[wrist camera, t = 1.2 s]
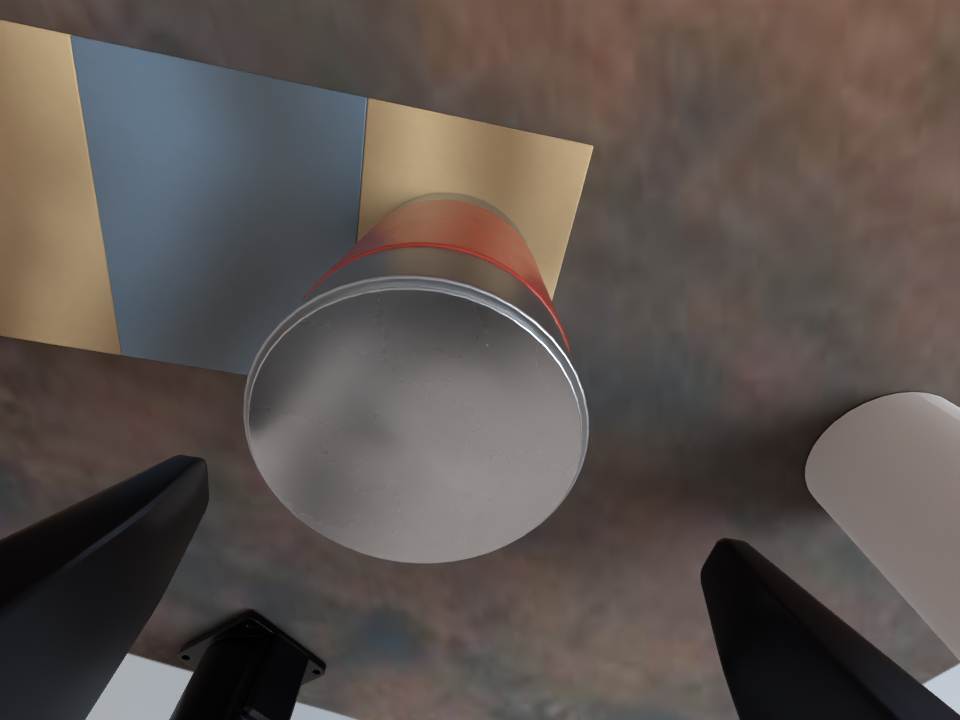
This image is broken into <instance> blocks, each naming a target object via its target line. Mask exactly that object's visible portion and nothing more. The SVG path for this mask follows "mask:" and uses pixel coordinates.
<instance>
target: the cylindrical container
mask: <svg viewBox="0 0 960 720" xmlns="http://www.w3.org/2000/svg"><path fill="white" fill-rule="evenodd" d="M805 480H806V484H807V487H808V490H809V491H810V493H811V494H812V496H813V497H814V498H815V499H816V501H817V502H818V503H819V504H820V505H821V506H822V507H823V508H824V509H825V511H826V512H827V513H828V514H829V515H830V516H831V517H832V518H833V519H834V521H835V522H836V523H837V524H838V525H839V526H840V527H841V528H842V529H843V531H844V532H845V533H846V534H847V535H848V536H849V537H850V538H851V540H852V541H853V542H854V543H855V544H856V545H857V546H858V547H859V548H860V550H861V551H862V552H863V553H864V554H865V555H866V556H867V557H868V558H869V560H870V561H871V562H872V563H873V564H874V565H875V566H876V567H877V568H878V570H879V571H880V572H881V573H882V574H883V575H884V576H885V577H886V579H887V580H888V581H889V582H890V583H891V584H892V585H893V586H894V587H895V589H896V590H897V591H898V592H899V593H900V594H901V595H902V596H903V597H904V599H905V600H906V601H907V602H908V603H909V604H910V605H911V606H912V607H913V609H914V610H915V611H916V612H917V613H918V614H919V615H920V616H921V618H922V619H923V620H924V621H925V622H926V623H927V624H928V626H929V627H930V628H931V629H932V630H933V631H934V632H935V633H936V635H937V636H938V637H939V638H940V639H941V640H942V641H943V642H944V644H945V645H946V646H947V647H948V648H949V649H950V650H951V651H952V653H953V654H954V655H955V656H956V657H957V658H958V659H959V660H960V408H959V407H958V406H956V405H954V404H953V403H951V402H949V401H947V400H946V399H944V398H942V397H940V396H936V395H933V394H929V393H921V392H906V393H896V394H892V395H887V396H883V397H880V398H877V399H874V400H872V401H869V402H866V403H864V404H862V405H860V406H858V407H857V408H855V409H853V410H851V411H849V412H847V413H846V414H845V415H843V416H842V417H841V418H839V419H838V420H837V421H835V422H834V423H833V424H832V425H831V426H830V427H829V428H828V429H827V430H826V431H825V432H824V433H823V434H822V435H821V436H820V438H819V439H818V440H817V442H816V443H815V444H814V446H813V448H812V450H811V452H810V454H809V456H808V459H807V463H806V467H805Z"/></svg>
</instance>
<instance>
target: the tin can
mask: <svg viewBox="0 0 960 720" xmlns="http://www.w3.org/2000/svg"><path fill="white" fill-rule="evenodd" d="M243 419H244V427H245V435H246V438H247V442H248V446H249V449H250V452H251V455H252V457H253V459H254V462H255V464H256V466H257V468H258V470H259V472H260V474H261V475H262V477H263V478H264V480H265V482H266V483H267V485H268V486H269V488H270V489H271V490H272V491H273V493H274V494H275V495H276V496H277V498H278V499H279V500H280V501H281V502H282V503H283V504H284V505H285V506H286V507H287V508H288V509H289V510H290V511H291V512H292V513H293V514H294V515H295V516H296V517H297V518H298V519H300V520H301V521H302V522H303V523H305V524H306V525H307V526H309V527H310V528H311V529H313V530H314V531H316V532H318V533H319V534H321V535H322V536H324V537H326V538H327V539H329V540H331V541H333V542H335V543H337V544H339V545H341V546H343V547H346V548H349V549H351V550H354V551H357V552H359V553H362V554H366V555H369V556H373V557H377V558H380V559H386V560H392V561H397V562H408V563H442V562H452V561H458V560H463V559H468V558H473V557H476V556H480V555H483V554H486V553H490V552H492V551H494V550H497V549H499V548H502V547H504V546H506V545H508V544H510V543H512V542H514V541H515V540H517V539H519V538H521V537H523V536H524V535H526V534H527V533H529V532H530V531H532V530H533V529H534V528H536V527H537V526H539V525H540V524H541V523H542V522H543V521H545V520H546V519H547V518H548V517H549V516H550V515H551V514H552V513H553V512H554V511H555V510H556V509H557V508H558V506H559V505H560V504H561V503H562V502H563V500H564V499H565V498H566V496H567V495H568V493H569V492H570V490H571V488H572V487H573V485H574V484H575V482H576V479H577V477H578V475H579V473H580V470H581V468H582V466H583V462H584V458H585V455H586V451H587V446H588V437H589V413H588V407H587V402H586V397H585V392H584V389H583V387H582V384H581V381H580V379H579V376H578V373H577V371H576V368H575V366H574V363H573V361H572V358H571V354H570V350H569V345H568V342H567V339H566V336H565V334H564V331H563V328H562V326H561V323H560V321H559V318H558V316H557V313H556V311H555V308H554V306H553V304H552V301H551V299H550V296H549V294H548V291H547V289H546V286H545V284H544V281H543V279H542V276H541V274H540V271H539V269H538V266H537V264H536V261H535V259H534V257H533V255H532V253H531V251H530V249H529V247H528V245H527V243H526V241H525V239H524V237H523V236H522V234H521V232H520V231H519V230H518V228H517V227H516V226H515V224H514V223H513V222H512V221H511V220H510V219H509V218H508V217H507V216H506V215H505V214H504V213H502V212H501V211H500V210H498V209H497V208H496V207H494V206H492V205H491V204H489V203H487V202H485V201H483V200H480V199H478V198H476V197H472V196H468V195H465V194H459V193H434V194H427V195H424V196H420V197H417V198H414V199H412V200H410V201H408V202H406V203H404V204H402V205H401V206H399V207H398V208H396V209H395V210H393V211H392V212H391V213H390V214H389V215H388V216H386V217H385V218H383V219H382V220H381V221H380V222H379V223H377V224H376V225H375V226H374V227H373V228H372V229H371V230H370V231H369V232H368V233H367V234H366V235H365V236H364V237H363V238H362V239H361V240H360V241H359V242H358V243H356V244H355V245H354V246H353V247H352V248H351V249H350V250H349V251H348V252H347V253H346V254H345V255H344V256H343V257H342V258H341V259H340V260H339V261H338V262H337V263H336V264H335V265H334V266H333V267H332V268H331V269H330V270H329V271H328V272H327V273H326V274H325V275H324V276H323V277H322V278H321V279H319V280H318V281H317V282H316V283H315V285H314V286H313V287H312V288H311V289H310V290H309V292H308V293H307V294H306V295H305V296H304V298H303V299H302V301H301V302H300V303H299V304H298V305H297V306H296V307H295V308H294V309H293V310H292V311H291V312H290V313H289V314H288V315H287V316H286V317H285V318H284V319H283V320H282V321H281V322H280V323H279V324H278V325H277V327H276V328H275V329H274V330H273V331H272V332H271V334H270V335H269V336H268V337H267V338H266V340H265V341H264V343H263V345H262V346H261V348H260V350H259V351H258V353H257V355H256V356H255V359H254V361H253V364H252V366H251V369H250V371H249V374H248V378H247V382H246V387H245V392H244V405H243Z"/></svg>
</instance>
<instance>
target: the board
mask: <svg viewBox="0 0 960 720" xmlns="http://www.w3.org/2000/svg"><path fill="white" fill-rule="evenodd" d="M592 151H593V146H592V145H588V144H583V143H579V142H574V141H569V140H565V139H560V138H555V137H550V136H546V135H541V134H536V133H532V132H527V131H522V130H517V129H513V128H508V127H503V126H499V125H494V124H489V123H484V122H480V121H475V120H470V119H466V118H461V117H456V116H451V115H447V114H442V113H437V112H433V111H428V110H423V109H418V108H414V107H409V106H404V105H400V104H395V103H390V102H385V101H381V100H376V99H371V98H367V97H362V96H357V95H353V94H348V93H343V92H338V91H334V90H329V89H324V88H320V87H315V86H310V85H305V84H301V83H296V82H291V81H287V80H282V79H277V78H272V77H268V76H263V75H258V74H254V73H249V72H244V71H239V70H235V69H230V68H225V67H221V66H216V65H211V64H206V63H202V62H197V61H192V60H188V59H183V58H178V57H173V56H169V55H164V54H159V53H155V52H150V51H145V50H140V49H136V48H131V47H126V46H122V45H117V44H112V43H107V42H103V41H98V40H93V39H89V38H84V37H79V36H75V35H70V34H65V33H60V32H56V31H51V30H46V29H42V28H37V27H32V26H27V25H23V24H18V23H13V22H9V21H4V20H0V336H4V337H11V338H17V339H23V340H29V341H36V342H42V343H48V344H54V345H61V346H67V347H73V348H79V349H85V350H92V351H98V352H104V353H110V354H117V355H123V356H130V357H136V358H142V359H148V360H155V361H161V362H167V363H173V364H180V365H186V366H192V367H198V368H204V369H211V370H217V371H223V372H229V373H236V374H242V375H248V374H249V371H250V369H251V366H252V364H253V361H254V359H255V356H256V355H257V353H258V351H259V350H260V348H261V346H262V345H263V343H264V341H265V340H266V338H267V337H268V336H269V335H270V334H271V332H272V331H273V330H274V329H275V328H276V327H277V325H278V324H279V323H280V322H281V321H282V320H283V319H284V318H285V317H286V316H287V315H288V314H289V313H290V312H291V311H292V310H293V309H294V308H295V307H296V306H297V305H298V304H299V303H300V302H301V301H302V299H303V298H304V296H305V295H306V294H307V293H308V292H309V290H310V289H311V288H312V287H313V286H314V285H315V283H316V282H317V281H318V280H319V279H321V278H322V277H323V276H324V275H325V274H326V273H327V272H328V271H329V270H330V269H331V268H332V267H333V266H334V265H335V264H336V263H337V262H338V261H339V260H340V259H341V258H342V257H343V256H344V255H345V254H346V253H347V252H348V251H349V250H350V249H351V248H352V247H353V246H354V245H355V244H356V243H358V242H359V241H360V240H361V239H362V238H363V237H364V236H365V235H366V234H367V233H368V232H369V231H370V230H371V229H372V228H373V227H374V226H375V225H376V224H377V223H379V222H380V221H381V220H382V219H383V218H385V217H386V216H388V215H389V214H390V213H391V212H392V211H393V210H395V209H396V208H398V207H399V206H401V205H402V204H404V203H406V202H408V201H410V200H412V199H414V198H417V197H420V196H424V195H427V194H434V193H459V194H465V195H468V196H472V197H476V198H478V199H480V200H483V201H485V202H487V203H489V204H491V205H492V206H494V207H496V208H497V209H498V210H500V211H501V212H502V213H504V214H505V215H506V216H507V217H508V218H509V219H510V220H511V221H512V222H513V223H514V224H515V226H516V227H517V228H518V230H519V231H520V232H521V234H522V236H523V237H524V239H525V241H526V243H527V245H528V247H529V249H530V251H531V253H532V255H533V257H534V259H535V261H536V264H537V266H538V269H539V271H540V274H541V276H542V279H543V281H544V284H545V286H546V289H547V291H548V294H549V296H550V299H551V301H552V299H553V295H554V291H555V288H556V284H557V280H558V276H559V273H560V269H561V265H562V262H563V258H564V254H565V251H566V247H567V243H568V239H569V236H570V232H571V228H572V225H573V221H574V217H575V214H576V210H577V206H578V203H579V199H580V195H581V191H582V188H583V184H584V180H585V177H586V173H587V169H588V166H589V162H590V158H591V154H592Z"/></svg>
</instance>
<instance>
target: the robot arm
mask: <svg viewBox="0 0 960 720" xmlns="http://www.w3.org/2000/svg"><path fill="white" fill-rule="evenodd" d="M208 501H209V487H208V472H207V464H206V462H205V460H204V459H202V458H198V457H191V456H185V455H177V456H174V457H172V458H170V459H168V460H166V461H164V462H161V463H159V464H157V465H155V466H153V467H151V468H149V469H147V470H145V471H143V472H141V473H139V474H137V475H135V476H132V477H130V478H128V479H126V480H124V481H122V482H120V483H118V484H116V485H114V486H112V487H110V488H108V489H105V490H103V491H101V492H99V493H97V494H95V495H93V496H91V497H89V498H87V499H85V500H83V501H81V502H78V503H76V504H74V505H72V506H70V507H68V508H66V509H64V510H62V511H60V512H58V513H56V514H54V515H52V516H49V517H47V518H45V519H43V520H41V521H39V522H37V523H35V524H33V525H31V526H29V527H27V528H25V529H22V530H20V531H18V532H16V533H14V534H12V535H10V536H8V537H6V538H4V539H2V540H0V720H85V719H86V717H87V716H88V714H89V713H90V711H91V710H92V708H93V706H94V705H95V703H96V702H97V700H98V698H99V697H100V695H101V694H102V692H103V691H104V689H105V688H106V686H107V684H108V683H109V681H110V680H111V678H112V676H113V675H114V673H115V672H116V670H117V668H118V667H119V665H120V664H121V662H122V661H123V659H124V657H125V656H126V654H127V653H128V651H129V650H130V648H131V646H132V645H133V643H134V642H135V640H136V639H137V637H138V635H139V634H140V632H141V631H142V629H143V628H144V626H145V624H146V623H147V621H148V620H149V618H150V616H151V615H152V613H153V612H154V610H155V608H156V607H157V605H158V603H159V602H160V600H161V598H162V596H163V594H164V592H165V591H166V589H167V587H168V585H169V583H170V581H171V579H172V577H173V575H174V573H175V571H176V569H177V567H178V565H179V563H180V561H181V559H182V557H183V555H184V553H185V551H186V549H187V547H188V545H189V543H190V541H191V539H192V537H193V535H194V533H195V531H196V529H197V527H198V525H199V523H200V521H201V519H202V517H203V515H204V513H205V511H206V508H207V505H208ZM701 585H702V589H703V593H704V597H705V601H706V605H707V609H708V613H709V617H710V621H711V625H712V629H713V633H714V637H715V641H716V646H717V650H718V654H719V657H720V661H721V665H722V668H723V672H724V675H725V678H726V681H727V684H728V687H729V690H730V693H731V696H732V699H733V702H734V705H735V708H736V711H737V713H738V716H739V719H740V720H960V715H959V714H958V713H956V712H955V711H954V710H953V709H951V708H950V707H949V706H948V705H946V704H945V703H944V702H943V701H941V700H940V699H939V698H938V697H937V696H935V695H934V694H933V693H932V692H930V691H929V690H928V689H927V688H925V687H924V686H923V685H922V684H921V683H919V682H918V681H917V680H916V679H914V678H913V677H912V676H911V675H909V674H908V673H907V672H906V671H905V670H903V669H902V668H901V667H900V666H898V665H897V664H896V663H895V662H893V661H892V660H891V659H890V658H889V657H887V656H886V655H885V654H884V653H882V652H881V651H880V650H879V649H877V648H876V647H875V646H874V645H872V644H871V643H870V642H869V641H868V640H866V639H865V638H864V637H863V636H861V635H860V634H859V633H858V632H856V631H855V630H854V629H853V628H851V627H850V626H849V625H848V624H847V623H845V622H844V621H843V620H842V619H840V618H839V617H838V616H837V615H835V614H834V613H833V612H832V611H831V610H829V609H828V608H827V607H826V606H824V605H823V604H822V603H821V602H819V601H818V600H817V599H816V598H815V597H813V596H812V595H811V594H810V593H808V592H807V591H806V590H805V589H803V588H802V587H801V586H800V585H798V584H797V583H796V582H795V581H794V580H792V579H791V578H790V577H789V576H787V575H786V574H785V573H784V572H782V571H781V570H780V569H779V568H778V567H776V566H775V565H774V564H773V563H771V562H770V561H769V560H768V559H766V558H765V557H764V556H763V555H762V554H760V553H759V552H758V551H757V550H755V549H754V548H753V547H752V546H750V545H749V544H748V543H746V542H744V541H741V540H735V539H729V538H722V539H720V540H719V541H718V542H717V543H716V544H715V546H714V548H713V550H712V551H711V553H710V555H709V556H708V558H707V560H706V562H705V563H704V565H703V567H702V570H701ZM177 657H178V659H179V660H180V661H182V662H184V663H185V664H187V665H188V666H190V667H191V668H193V669H195V671H194V673H193V675H192V677H191V679H190V681H189V683H188V685H187V687H186V689H185V691H184V692H183V694H182V696H181V698H180V700H179V702H178V704H177V706H176V708H175V710H174V712H173V714H172V715H171V718H170V719H169V720H290V719H291V716H292V712H293V709H294V706H295V703H296V700H297V697H298V694H299V691H300V687H301V685H303V684H305V683H308V682H310V681H312V680H314V679H316V678H319V677H321V676H323V675H324V673H325V669H326V664H325V663H324V662H323V661H321V660H320V659H319V658H317V657H316V656H315V655H313V654H312V653H311V652H309V651H308V650H307V649H305V648H304V647H302V646H301V645H300V644H298V643H297V642H296V641H294V640H293V639H292V638H290V637H289V636H288V635H286V634H285V633H284V632H282V631H281V630H279V629H278V628H277V627H275V626H274V625H273V624H271V623H270V622H269V621H267V620H266V619H265V618H263V617H262V616H261V615H259V614H257V613H254V612H249V613H246V614H244V615H242V616H240V617H238V618H236V619H235V620H233V621H231V622H229V623H227V624H225V625H223V626H221V627H219V628H217V629H216V630H214V631H212V632H210V633H208V634H206V635H204V636H202V637H200V638H198V639H197V640H195V641H193V642H191V643H189V644H187V645H185V646H183V647H182V648H181V650H180V651H179V653H178V655H177Z"/></svg>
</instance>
